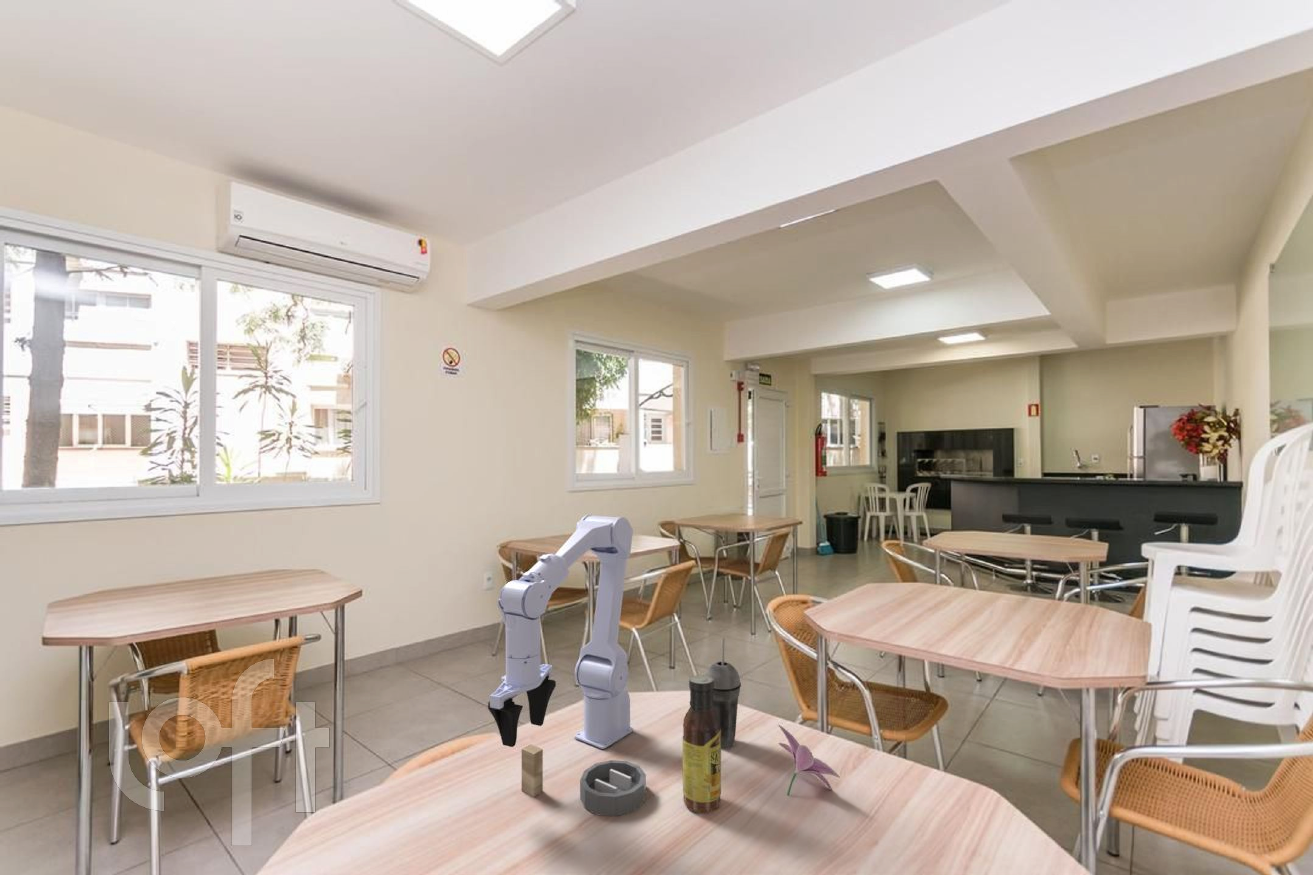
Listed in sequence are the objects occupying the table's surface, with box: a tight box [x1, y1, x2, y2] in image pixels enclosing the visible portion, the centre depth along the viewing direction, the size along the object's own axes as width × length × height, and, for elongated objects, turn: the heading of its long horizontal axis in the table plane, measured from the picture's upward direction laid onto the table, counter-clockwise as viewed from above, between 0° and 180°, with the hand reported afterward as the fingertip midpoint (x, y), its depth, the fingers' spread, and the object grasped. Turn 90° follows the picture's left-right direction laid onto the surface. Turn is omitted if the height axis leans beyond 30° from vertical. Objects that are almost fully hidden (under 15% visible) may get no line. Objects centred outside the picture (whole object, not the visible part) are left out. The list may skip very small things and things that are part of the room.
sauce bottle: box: [682, 674, 722, 814], centre depth 95 cm, size 7×6×20 cm
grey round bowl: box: [579, 759, 647, 817], centre depth 97 cm, size 11×11×3 cm
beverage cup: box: [705, 637, 742, 750], centre depth 115 cm, size 7×7×20 cm
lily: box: [778, 724, 841, 796], centre depth 99 cm, size 12×12×10 cm
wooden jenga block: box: [521, 743, 544, 798], centre depth 98 cm, size 2×3×7 cm, turn 54°
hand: (523, 734), depth 98 cm, fingers open, 7 cm apart
